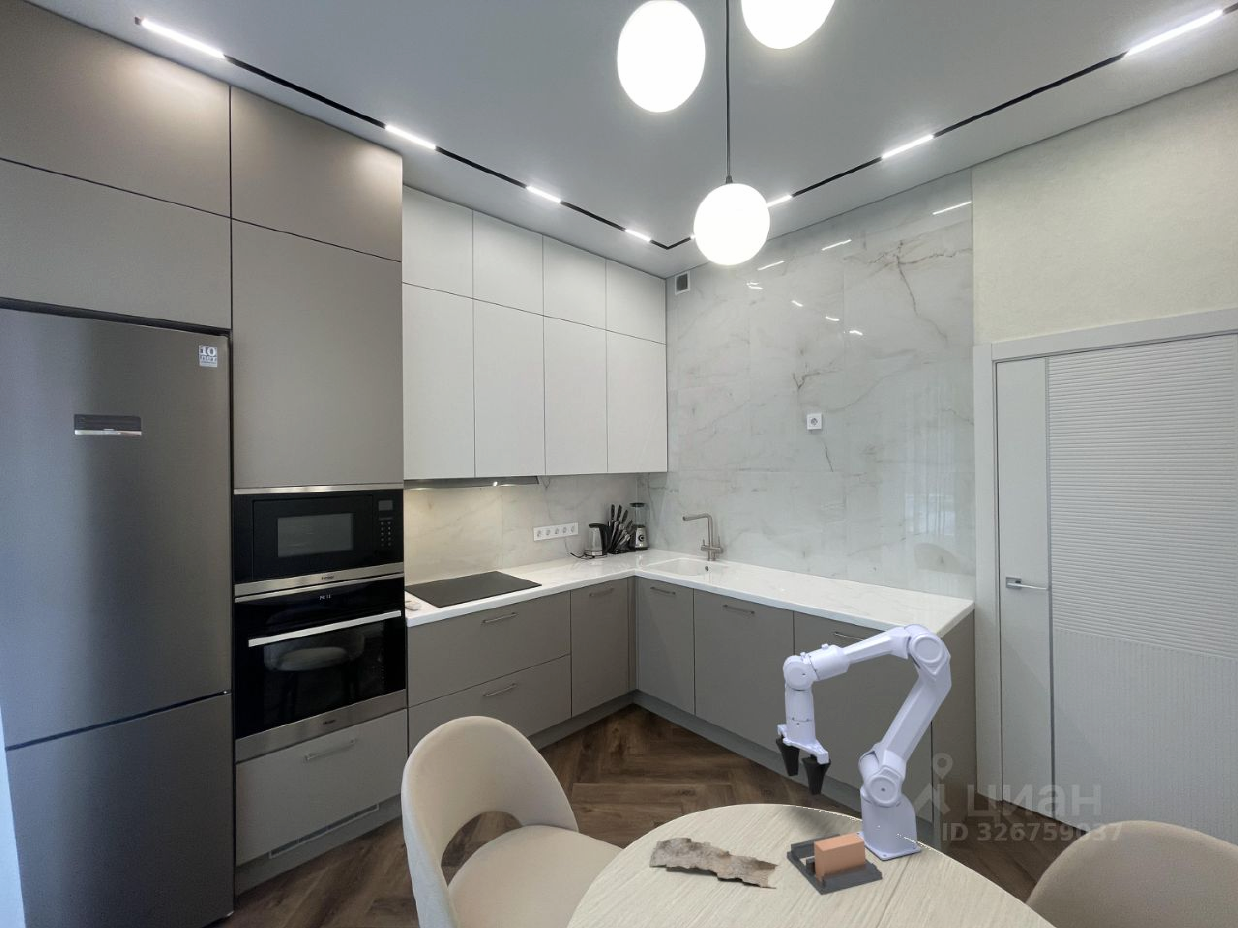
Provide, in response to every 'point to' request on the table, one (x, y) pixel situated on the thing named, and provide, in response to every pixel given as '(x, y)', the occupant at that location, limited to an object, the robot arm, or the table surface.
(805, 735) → the robot arm
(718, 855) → the stone fragment
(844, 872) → the drying rack
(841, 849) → the terracotta strip
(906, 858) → the table surface
